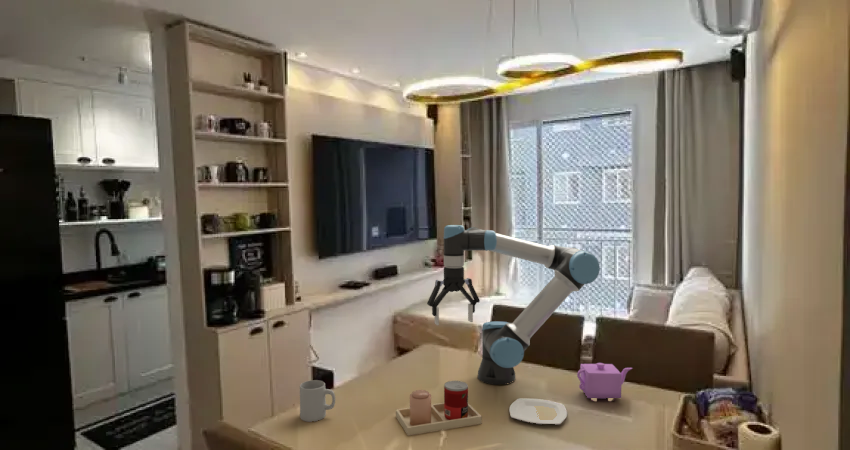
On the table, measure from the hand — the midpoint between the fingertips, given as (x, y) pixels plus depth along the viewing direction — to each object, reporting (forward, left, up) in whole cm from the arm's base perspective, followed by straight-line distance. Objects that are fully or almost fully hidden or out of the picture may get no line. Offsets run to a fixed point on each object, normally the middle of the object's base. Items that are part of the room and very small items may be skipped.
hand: (453, 322), depth 189 cm
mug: (+51, +4, -27) cm, 58 cm away
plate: (-20, +27, -27) cm, 43 cm away
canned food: (+8, +21, -26) cm, 34 cm away
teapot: (-51, +22, -27) cm, 62 cm away
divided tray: (+14, +21, -27) cm, 37 cm away
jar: (+20, +21, -26) cm, 39 cm away
